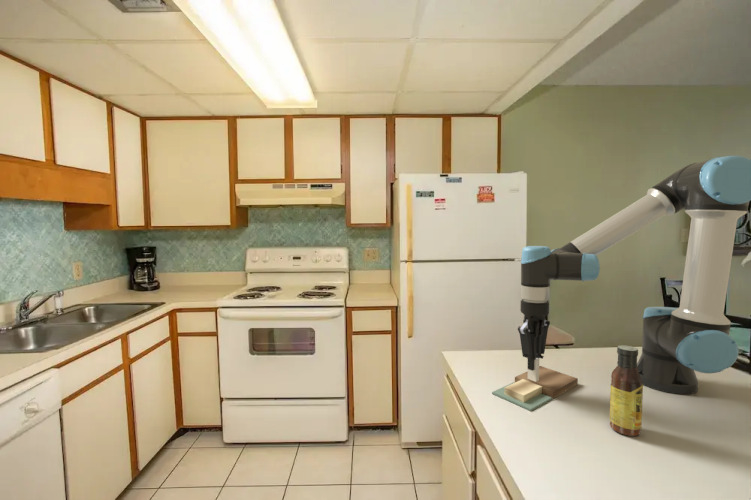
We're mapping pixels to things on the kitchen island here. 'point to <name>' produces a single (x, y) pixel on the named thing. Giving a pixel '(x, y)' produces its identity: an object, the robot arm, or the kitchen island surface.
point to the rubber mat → (527, 405)
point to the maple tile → (523, 390)
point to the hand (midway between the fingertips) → (533, 379)
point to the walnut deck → (551, 381)
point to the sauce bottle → (626, 393)
